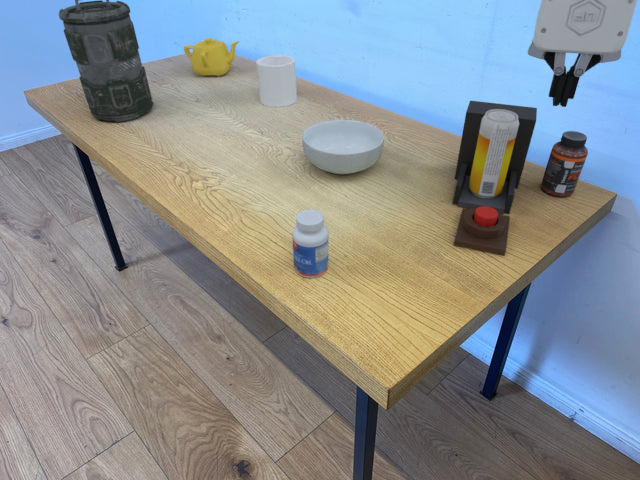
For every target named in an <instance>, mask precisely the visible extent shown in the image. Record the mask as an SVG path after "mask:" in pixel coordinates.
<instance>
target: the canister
mask: <svg viewBox="0 0 640 480" xmlns="http://www.w3.org/2000/svg"><path fill="white" fill-rule="evenodd" d="M79 1H80V0H74V3H75V5H71V6H67V7H64V9H63V8H61V9H59V11H58V17H59V20H61V21H62V23H63V24H62V25H63V28H64V29H63V33H64V37H65V40H66V42H67V46H68V49H69V51H70V55H71V58H72V60H73V61H74V62H75V64H76V68H77V70H78V73H79V80H80V84H81V88H82V90H83V93H84V97H85V99H86V102H87V105H88V108H89V110H90V114H91V116H92V117H93V118H94V119H95V120H98V121H100V122H103V121H110V122H115V123H123V122H128V121H132V120H136V119H139V117H140V116H143V115H144V114H146V113H147V112H148V111H150V110H151V109H152V108H153V105H154V103H153V97H152V92H151V88H150V85H149V81H148V77H147V73H146V68H145V66H143V63H142V59H141V55H140V51H139V49H140V46H139V42H138V39H137V33H136V30H135V26H134V22H133V21H132V19H131V15H130V13H131V8H130V6H129V5H128V4H127V3H126V2H124V1H121V0H116V1H110V0H105V1H103V0H93V1H92V0H89V1H82V2H79Z"/></svg>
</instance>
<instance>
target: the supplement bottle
mask: <svg viewBox="0 0 640 480" xmlns="http://www.w3.org/2000/svg"><path fill="white" fill-rule="evenodd" d="M587 139H588V137H587V135H586V134H584V133H582V132H579V131H576V130H575V131H574V130H567V131H564V132H563V133H562V135H561V138H560V141H557V142H555V143H554V144H553V146H552V148H551V151H550V154H549V158H548V160H547V164H546V167H545V169H544V173H543V176H542V179H541V182H540V187H541V190H543V191H544V192H545V193H546V194H548V195H551V196H554V197H558V198H564V197H569V196H571V195H573V194H574V192H575V190H576V187H577V185H578V182H579V180H580V176H581V175H582V172H583V168H584V165H585V163H586V160H587V157H588V155H589V150H588V148H587V147H586V143H587Z"/></svg>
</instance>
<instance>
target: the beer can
mask: <svg viewBox="0 0 640 480" xmlns="http://www.w3.org/2000/svg"><path fill="white" fill-rule="evenodd" d="M518 127H519V120H518V115H517V114H516V113H514V112H512V111H509V110H504V109H492V110H489V111H487V112H486V113H485V115H484V117H483V118H482V121H481V126H480V131H479V136H478V141H477V146H476V151H475V156H474V161H473V166H472V171H471V176H470V181H469V188H470V190H471V192H472V193H473V194H474V195H476V196H478V197H481V198H494V197H496V196H498V195H499V194H500V193H501V192H502V190H503V186H504V182H505V179H506V175H507V171H508V167H509V163H510V159H511V155H512V151H513V147H514V143H515V139H516V135H517V131H518Z"/></svg>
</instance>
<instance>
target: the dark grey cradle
mask: <svg viewBox="0 0 640 480" xmlns="http://www.w3.org/2000/svg"><path fill="white" fill-rule="evenodd" d="M492 109H504V110H509V111H512V112H514V113H516V114H517V115H518V120H519V127H518V131H517V135H516V139H515V143H514V147H513V151H512V155H511V159H510V163H509V167H508V171H507V175H506V179H505V182H504V186H503V190H502V192H501V193H500V194H499V195H498V196H496V197H494V198H481V197H478V196H476V195H474V194H473V193H472V192H471V190H470V188H469V181H470V176H471V171H472V166H473V161H474V156H475V151H476V146H477V141H478V136H479V131H480V126H481V121H482V118H483V117H484V115H485V113H486V112H487V111H489V110H492ZM537 115H538V108H537V107H532V106H522V105H515V104H514V105H513V104H506V103H505V104H504V103H495V102H487V101H479V100H478V101H477V100H469V103H468V106H467V109H466V111H465V117H464V122H463V127H462V134H461V138H460V139H461V140H460V145H459V151H458V155H457V163H456V167H455V174H454V180H457V181H456V184H455V188H454V193H453V199H452V205H455V206H457V207H458V208H462V209H463V208H465V209H476V208H478V207H481V206H487V207H491V208H494V209H495V210H496V211H497V212H498V213H500V214H501V215H504V214H506V215H510V213H511V209H512V206H513V201H514V198H515V194H516V193H515V192H516V190H518V189H519V185H520V182H521V178H522V174H523V171H524V167H525V165H526V164H525V163H526V160H527V157H528V152H529V149H530V145H531V143H532V138H533V134H534V130H535V127H536V123H537Z"/></svg>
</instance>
